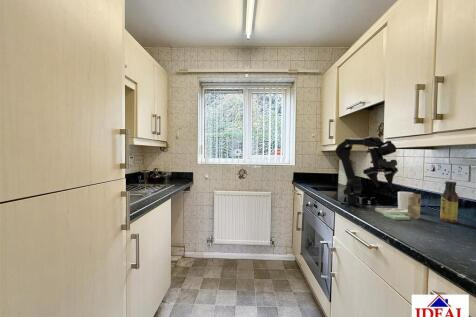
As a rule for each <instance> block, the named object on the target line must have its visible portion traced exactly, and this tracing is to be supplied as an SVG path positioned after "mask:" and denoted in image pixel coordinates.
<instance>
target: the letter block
mask: <svg viewBox="0 0 476 317" xmlns="http://www.w3.org/2000/svg"><path fill="white" fill-rule="evenodd" d="M421 199H422V194H421V193H420V194H419V193H415V192H411V194H409V195H408V215H407V216H409V217H410V219H411V218H412V219H415V220H417V219H421V218H420V217H421V201H422V200H421Z"/></svg>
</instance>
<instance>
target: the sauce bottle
mask: <svg viewBox="0 0 476 317" xmlns="http://www.w3.org/2000/svg"><path fill="white" fill-rule="evenodd" d="M444 184H445V185H444V190H443V193H442V195H441V197H440V198H441V199H440V212H439V213H440V214H439V216H440V217H439V218H440V220H441V222H444V223H445V222H446V223H451V224H456V223H457V220H458V210H459V208H458V207H459V195H458V193H457V190H456V186H457V181H454V180H445V182H444Z"/></svg>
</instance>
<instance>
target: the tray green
mask: <svg viewBox="0 0 476 317" xmlns="http://www.w3.org/2000/svg"><path fill="white" fill-rule="evenodd" d="M383 216H385V217H386V218H389V219H392V220H393V221H411V218H410V217H409V216H408V215H403V214H400V213H384V214H383Z"/></svg>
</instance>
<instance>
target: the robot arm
mask: <svg viewBox="0 0 476 317" xmlns="http://www.w3.org/2000/svg"><path fill="white" fill-rule="evenodd" d="M354 145H358V146H359V145H360V146H364V147H368V149H367V151H366V154H369V155H370V158H371V161H370V164H372V166H370V167H369V166H368V167H366V168H363V171H362V172H363V175H365V176H366V177H367V178H368V179H370V181H371V182H372V183H373V184H374V185H375V187H379V186H380V185H379V179H378V174H379V173H384V174H383V176H384V178H385V180H386V182H387V184H388V186H389V187H392V186H393V180H394V176H395V175H396V174H397V172H399V169H398V167H396V166H398V162H397V160H396V159H390V160H387V159H386V158H384V157H385V156H388V155H392V154H393V153H396V152H397V146H395V144H394V143H393V142H392V140H386V141H382V140H381V137H379V136H377V137H375V136H368V137H363V138H345V139H344V140H343V141H342V142H341V143H339V144H338V145H337V146H336V148H335V154H336V155H337V158H339V159H340V161H341V164H342V166H343V169H344V173H345V177H346V184H345V185H346V187H345V188H344V190H343V191H342V192H343V195H346V202H343V203H344V204H345V205H348V206H360V204H359V203H358V196H361V193H362V190H363V184H362V181H361V179H357V178H356V175H355V172H354V169H353V165H352V163H351V159H350V156H351V151H352V150H353V146H354Z"/></svg>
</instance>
